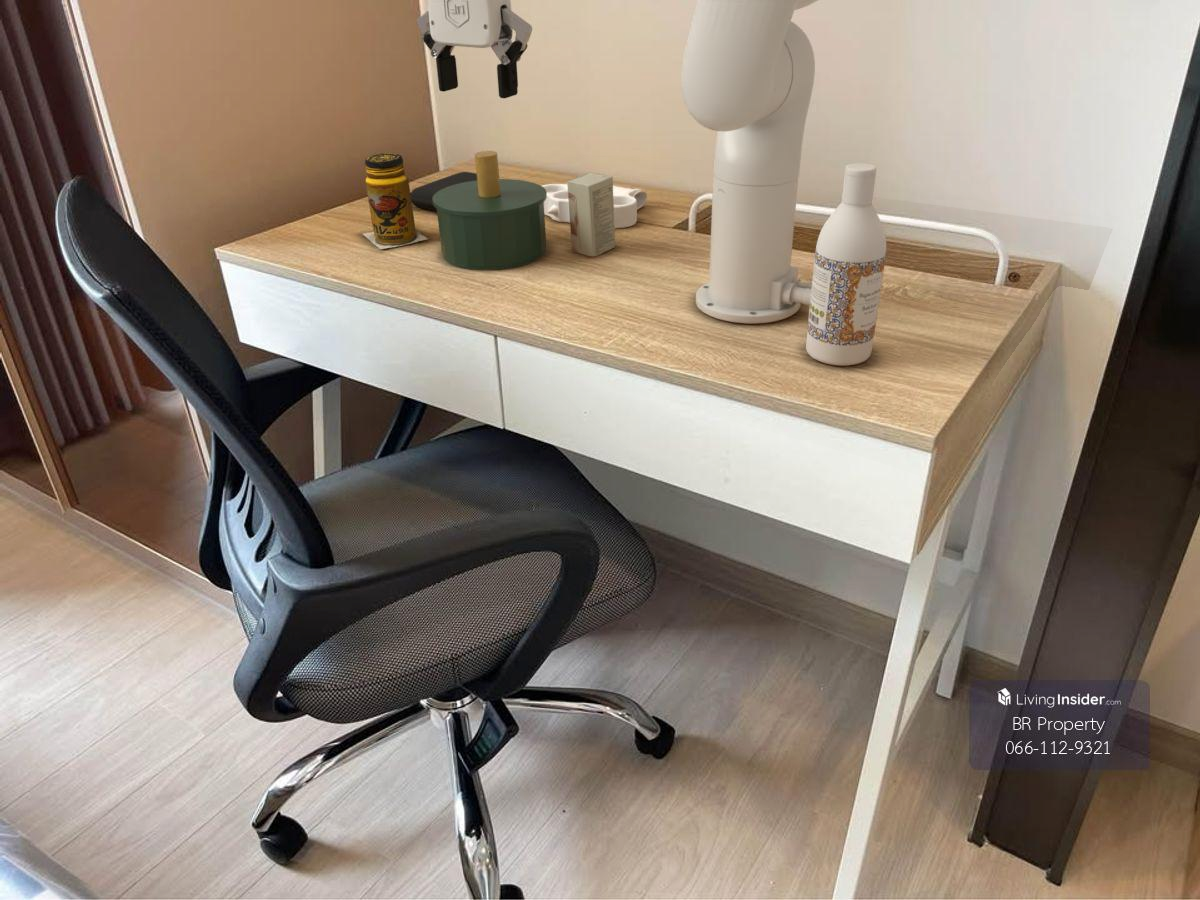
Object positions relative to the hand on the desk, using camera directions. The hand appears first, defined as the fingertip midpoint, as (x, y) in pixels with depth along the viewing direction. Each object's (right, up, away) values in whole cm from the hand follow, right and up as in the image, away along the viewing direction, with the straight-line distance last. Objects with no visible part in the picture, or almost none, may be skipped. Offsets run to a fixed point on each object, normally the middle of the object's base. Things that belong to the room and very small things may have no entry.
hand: (478, 92), depth 118 cm
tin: (+1, -18, +11) cm, 21 cm away
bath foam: (+42, -36, -19) cm, 58 cm away
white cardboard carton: (+15, -18, +11) cm, 26 cm away
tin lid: (+1, -12, +7) cm, 14 cm away
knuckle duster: (+14, -9, +25) cm, 30 cm away
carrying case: (-8, -5, +33) cm, 34 cm away
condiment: (-15, -15, +17) cm, 27 cm away
